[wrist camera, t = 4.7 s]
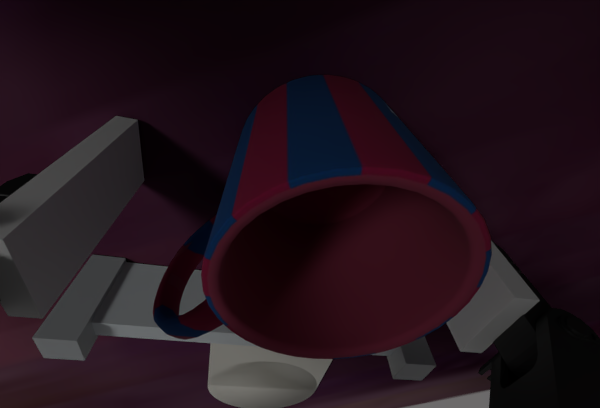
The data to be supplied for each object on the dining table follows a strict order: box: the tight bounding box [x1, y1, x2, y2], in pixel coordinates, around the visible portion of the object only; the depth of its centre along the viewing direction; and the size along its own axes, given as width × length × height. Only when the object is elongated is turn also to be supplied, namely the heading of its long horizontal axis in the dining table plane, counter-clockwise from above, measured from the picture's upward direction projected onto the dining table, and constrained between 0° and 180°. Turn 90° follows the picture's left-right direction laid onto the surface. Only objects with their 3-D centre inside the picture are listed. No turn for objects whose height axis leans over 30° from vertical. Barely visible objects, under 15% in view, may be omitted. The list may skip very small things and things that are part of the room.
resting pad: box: [208, 343, 333, 408], centre depth 22 cm, size 20×9×1 cm, turn 168°
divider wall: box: [32, 255, 436, 381], centre depth 15 cm, size 2×18×4 cm, turn 78°
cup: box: [153, 75, 492, 359], centre depth 10 cm, size 7×10×7 cm
